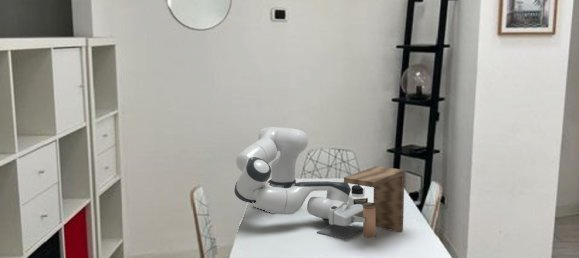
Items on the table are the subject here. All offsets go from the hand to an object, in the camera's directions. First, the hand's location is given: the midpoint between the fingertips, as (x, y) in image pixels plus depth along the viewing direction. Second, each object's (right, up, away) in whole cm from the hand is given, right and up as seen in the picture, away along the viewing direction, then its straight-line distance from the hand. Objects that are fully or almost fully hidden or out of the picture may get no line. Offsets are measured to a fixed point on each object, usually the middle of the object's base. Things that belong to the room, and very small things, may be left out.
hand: (369, 218), depth 231 cm
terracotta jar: (0, -7, +1) cm, 8 cm away
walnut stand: (+2, -8, +1) cm, 8 cm away
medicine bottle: (0, -3, +37) cm, 37 cm away
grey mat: (-11, -7, +8) cm, 15 cm away
